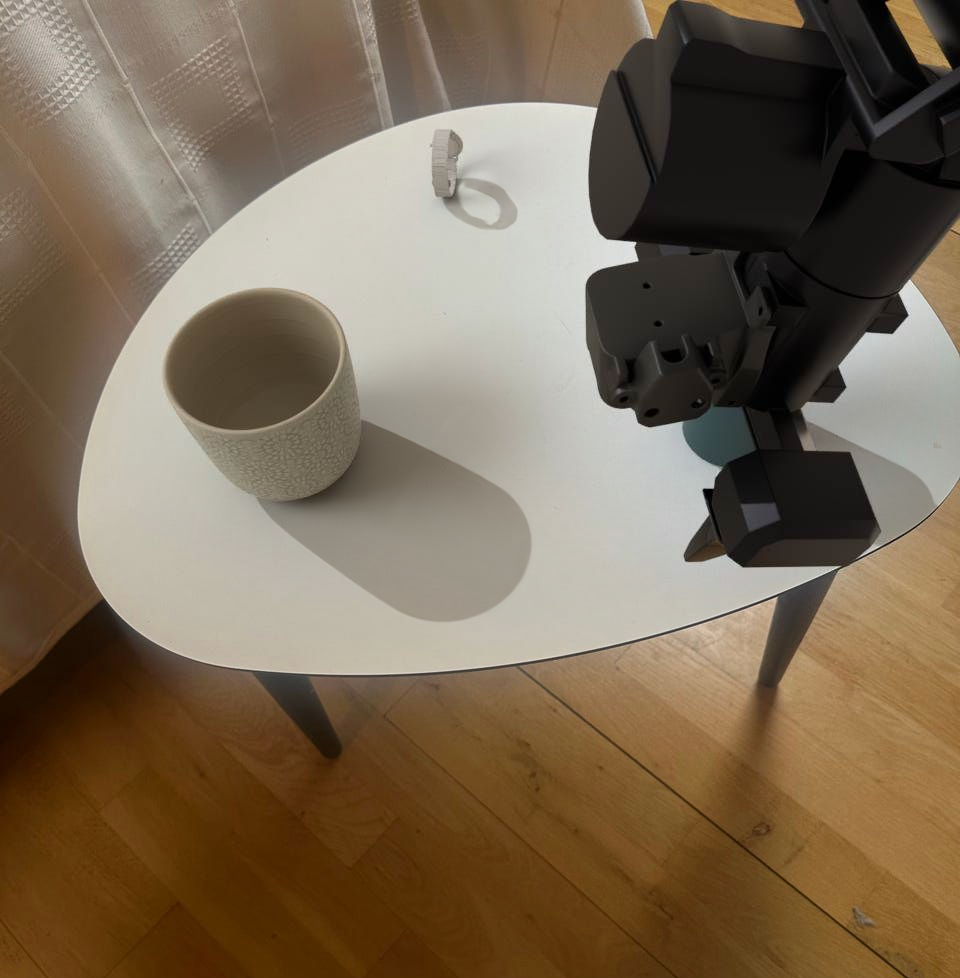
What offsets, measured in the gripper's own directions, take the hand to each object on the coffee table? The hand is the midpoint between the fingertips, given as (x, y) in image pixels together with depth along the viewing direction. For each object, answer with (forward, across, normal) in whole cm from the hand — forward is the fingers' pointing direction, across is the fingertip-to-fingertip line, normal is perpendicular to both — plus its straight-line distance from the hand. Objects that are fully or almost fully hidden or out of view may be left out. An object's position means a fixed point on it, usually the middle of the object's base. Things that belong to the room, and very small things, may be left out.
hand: (671, 484), depth 48 cm
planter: (+22, -18, -17) cm, 33 cm away
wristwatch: (+18, -44, -3) cm, 47 cm away
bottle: (+12, -14, +14) cm, 23 cm away
